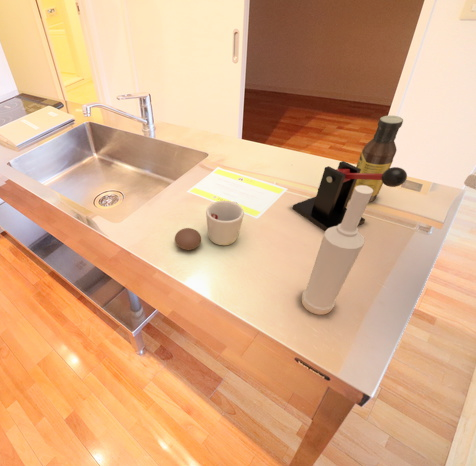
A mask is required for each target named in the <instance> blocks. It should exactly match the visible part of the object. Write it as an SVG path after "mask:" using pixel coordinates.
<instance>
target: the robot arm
mask: <svg viewBox="0 0 476 466" xmlns="http://www.w3.org/2000/svg"><path fill="white" fill-rule="evenodd" d="M463 184H464V185H465V186H466V187H468V188H469V189H473V190H475V191H476V172H473V173H471V174H469V175H468V176H467V177H466V178H465V179H464V182H463Z"/></svg>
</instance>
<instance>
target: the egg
mask: <svg viewBox="0 0 476 466" xmlns="http://www.w3.org/2000/svg"><path fill="white" fill-rule="evenodd" d="M174 242H175V244H176V245H177V246H178V247H179V248H180V249H182V250H185V251H186V250H187V251H191V250H194V249H197V248H198V247H199V246H200V244H202V243H201V242H202V235H201V234H200V233H199V231H197V230H196V229H194V228H192V227H185V228H182V229H179V230H178V231H177V232H176V234H175V236H174Z"/></svg>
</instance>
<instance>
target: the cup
mask: <svg viewBox="0 0 476 466" xmlns="http://www.w3.org/2000/svg"><path fill="white" fill-rule="evenodd" d="M205 214H206V215H205V217H206V227H207V236H208V238H209V240H210V241H211V242H212V243H214V244H216V245H219V246H229V245H231V244H233V243H234V242H236V241H237V239H238V237H239V234H240V230H241V227H242V222H243V220H244V216H245V211H244V208H243V207H242V205H240V204H239V203H238V202H236V201H232V200H231V201H230V200H220V201H218V200H217V201H215V202H212V203H210V204H209V205H208V206H207V207H206V210H205Z"/></svg>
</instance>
